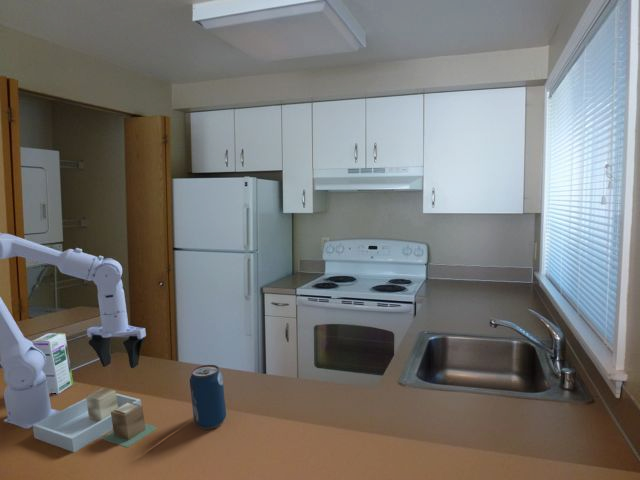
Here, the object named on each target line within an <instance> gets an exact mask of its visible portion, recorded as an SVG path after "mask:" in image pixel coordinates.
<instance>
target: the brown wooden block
mask: <svg viewBox="0 0 640 480" xmlns="http://www.w3.org/2000/svg"><path fill="white" fill-rule="evenodd" d="M111 417H112V424H113V429H112V432H114V436H115V437H119V438H122V439H125V440H128V441H129V440H131V439H132V438H134V437H135V436H137V435H138V434H140V433H141V432H143V431H144V430H145V424H146V423H145V414H144V409H143V405H142V404H141V405H138V404H134V403H130V402H127V403H125V404H123V405H122V406H120V407H118V408H116V409H115V410H113V411H111Z"/></svg>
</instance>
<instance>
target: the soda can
mask: <svg viewBox="0 0 640 480" xmlns="http://www.w3.org/2000/svg"><path fill="white" fill-rule="evenodd" d="M189 387H190V397H191V407H192V415H193V416H192V417H193V421H194V423H195V424H196V425H197V426H198V427H199V428H201V429H204V430H210V429H215V428H217V427H219V426H221V425H222V424H223V423H224V421H225V419H226V417H227V409H226V408H227V406H226V398H225V387H224V377H223V374H222V372H221V371H220V368H219V366H217V365H215V364H204V365H200V366H198V367H195V368H194V369H192V370H191V375H190V378H189ZM214 427H215V428H214Z"/></svg>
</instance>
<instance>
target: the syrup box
mask: <svg viewBox="0 0 640 480" xmlns="http://www.w3.org/2000/svg"><path fill="white" fill-rule="evenodd" d="M30 341H31V342H32V343H33V344H34V346H35V347H36V348H37V349H39V350H41V351H42V352H43V353H44V354H45V356H46V364H45V366H44V368H43V369H42V370H43V372H44V374H45V375H46V379H47V386H48V392H49V393H56V394H55V395H60V394H61V393H62V392H64V391H65V390H67V389H68V388H70V387H72V386H73V385H74V378H73V373H72V367H71V361H70V356H69V354H70V353H69V349H68V344H67V343H68V342H67V337H66V333H63V332H51V333H50V332H49V333H47V332H46V334H44V335H42V336H40V337H38V338H36V339H33V340H30ZM59 393H60V394H59Z"/></svg>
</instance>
